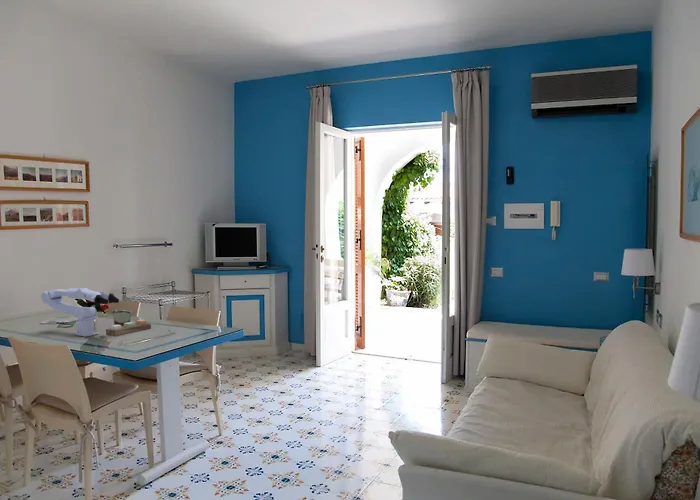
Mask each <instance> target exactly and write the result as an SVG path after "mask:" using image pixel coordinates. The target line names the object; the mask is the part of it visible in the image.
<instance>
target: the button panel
mask: <svg viewBox="0 0 700 500" xmlns="http://www.w3.org/2000/svg"><path fill="white" fill-rule="evenodd" d="M133 323H134V326H133V327H124V326H121V329H118V330H111V327H110V328H106V329H105V335H106V336H113V337H118V336H123V335H127V334H128V335H129V334H133V333H136V332H141V331H145V330H149V329H152V323H150V322H149V323H148V322H146V324H142V325H138V324H136V322H133Z"/></svg>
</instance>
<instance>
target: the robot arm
mask: <svg viewBox="0 0 700 500" xmlns="http://www.w3.org/2000/svg"><path fill="white" fill-rule="evenodd" d="M63 296H67V297H68V298H69V299H78V300H82V299H83V300H87V301H90V302H92V303H93V302H94V305H95V306H97V305H109V304H119V302H120V299H119V298H118V297H117V296H115V294H114V293H109V294H107V293H105V292H104V290H103V291H102V290H101V291H100V292H99V291H95V290H91V289H90V288H89V287H84V288H81V287H77V288H76V286H71V287H70V288H68V289H62V288H57V289H53V290H45V291H42V292H41V295H40V298H41V301H42V303H43V304H46V305H48V306H49V307H50V308H51V309H52V310H54V311H57V312H60V313H65V314H68V315H74V318H76V319H78V320H77V322H76V333H75V336H81V337H89V336H95V335H98V334H99V332H95V317H97V314H98V313H97V312H98V311H97V309H96V308H95V306H90V307H88V306H77V305H75V304H70V303H67V302H64V299H63Z"/></svg>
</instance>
